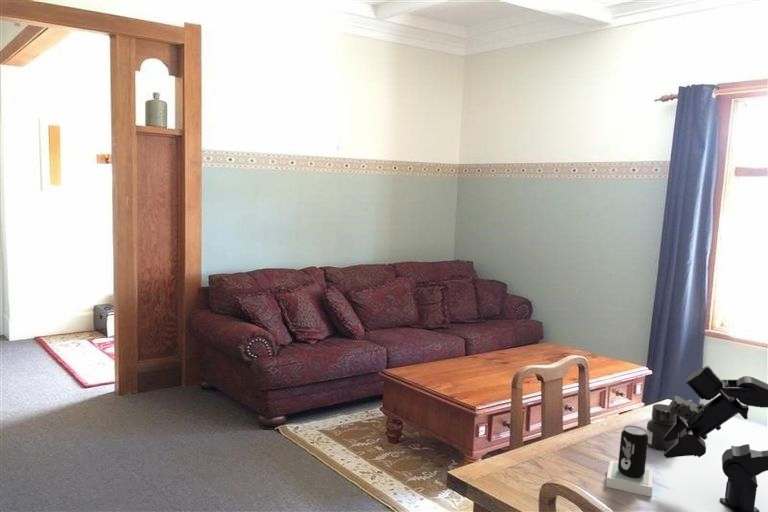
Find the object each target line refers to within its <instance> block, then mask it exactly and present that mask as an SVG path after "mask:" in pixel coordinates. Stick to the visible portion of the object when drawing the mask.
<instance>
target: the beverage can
mask: <svg viewBox="0 0 768 512" xmlns="http://www.w3.org/2000/svg"><path fill="white" fill-rule="evenodd" d="M648 447H649V446H648V436H647V431H646V428H643V427H641V426H637V425H631V424H630V425H625V426H623V430H622V431H621V434H620V442H619V453H618V470H619V471H620V473H621V474H623V475H625V476H627V477H630V478H640V477H642V476H643V475H644V473H645V468H646V462H647V454H648V453H647V452H648Z"/></svg>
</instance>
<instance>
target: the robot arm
mask: <svg viewBox="0 0 768 512" xmlns="http://www.w3.org/2000/svg"><path fill="white" fill-rule="evenodd" d="M684 383H685V384H687V386H688V387H689V388H690V389H691V390H692V391H693V392H694V393H695V394H696V395H697V396H698V397H699V399H700V400H705V401H709V402H707V403H706V404H705V405H704V404H703V403H699V404H695V405H697V406H695V405H693V404H694V403H693V402H692V403H693V404H692V403H690V402H688V401H689V400H687V399H684V398H683V397H680V396H678V395H674V397H673V398H672V400H671V401H670V403H669V404H668V405H669V407H670V409H669V410H670V412H672V413H673V414H676V422H675V424H674V425H673V426H672V428H671V429H670V430H669V431H668V433H667V434H666V435H665V436H664V438H663V440H664V441H665V442H668V441H672V440H675V439H678V441H677V442H676V443H675V444H674V445H673V446H672V447H670V448H669V449H668V450H667V451H666V452H665V451H664V453H663V456H664V457H665V458H666V459H670V458H679V457H690V456H691V457H698V458H701V457H703V456H704V455H705V454H706V453H707V446H706V441H705V440H706V439H708V434H710V433H712V432H713V431H714V430H716V431H720V430H722V425H724V424H725V423H726V422H728V421H729V420H731V419H732V418H734V417H735V416H737V415H738V414H739V415H740V416H741V417H742V418H743V419H744V420H748V413H749V410H750V408H749V407H755V408H766V409H767V408H768V383H767V382H764V381H762V380H760V379H758V378H755V377H753V376H750V375H749V376H748V375H744V376H742V377H740V378H738V379H736V378H735V379H721V378H720V377H718V376H717V374H716V373H715V372H714V371H713V369H712V368H711V366H709V365H706V366H704V367H702V368H699V369H698V370H694V371H693V372H692V373H691V374H690V375H688V376H687V377H686V379H685V380H684ZM730 447H731V448H728V449H725V451H724V452H723V453H722V455H721V467H722V473H724V475H725V477H726V478H727V481H726V486H725V492H724V493H725V494H724V497H719V502H721V503H723V504H724V505H725V506H726V507H728V509H730V510H731V511H732V512H760V509H758V508H757V507H756V506H755V505H756V498H757V490H758V487H759V485H758V480H757V476H758V475H760V474H762V473H765V472H766V471H767V472H768V450H755V449H751V446H750V444H749V443H748V444H742V445H737V446H736V445H730Z"/></svg>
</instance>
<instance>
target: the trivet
mask: <svg viewBox="0 0 768 512" xmlns="http://www.w3.org/2000/svg"><path fill="white" fill-rule="evenodd" d="M618 462H619V461H618ZM618 462H617V461H612V460H609V463H608V468H607V475H606V480H605V487H606V488H610V489H614V490H615V489H616V490H618V491H619V490H620V491H624V492H629V493H632V494H637V495H641V496H646V497H649V498H651V497H652V496H653V488H654V487H653V486H654V485H653V484H654V469H652V468H646V467H645V473H644V475H643V476H642V477H640V478H630V477H627V476H625V475H623V474H621V473H620V471H619V470H618Z"/></svg>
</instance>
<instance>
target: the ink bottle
mask: <svg viewBox="0 0 768 512" xmlns="http://www.w3.org/2000/svg"><path fill="white" fill-rule="evenodd" d="M669 409H670V407H669V404H661V403H654V404H653V405H652V409H651V419H650V420H648V421H647V423H646V428H645V430H646V431H647V436H648V446H647V447H649V448H651V449H654V450H656V451H660V452H664V453H665V452H666V451H667V450H668V449H669V448H670V447H672V446H673V445H674V444H675V443H676V442H677V441H678V439H675V440H672V441H668V442H665V441H664V440H663V438H664V436H665V435H666V434H667V433H668V431H669V430H670V429H671V428H672V426H673V425H674V424H675V422H676V414H673V413H672V412H670V410H669Z"/></svg>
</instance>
